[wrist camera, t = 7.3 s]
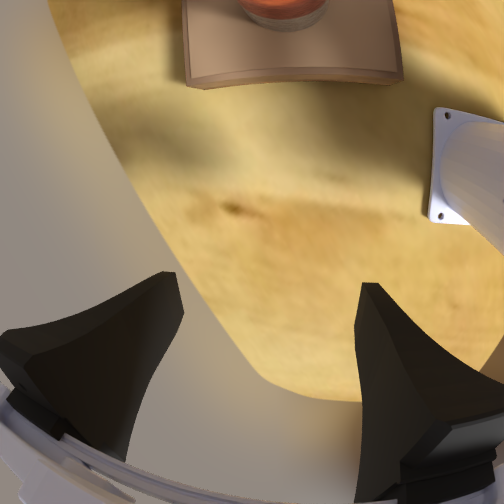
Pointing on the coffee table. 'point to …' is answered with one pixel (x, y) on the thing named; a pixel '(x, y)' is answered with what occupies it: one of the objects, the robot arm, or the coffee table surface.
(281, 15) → the tin can
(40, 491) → the robot arm
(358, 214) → the coffee table surface
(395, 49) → the brown rectangular block
